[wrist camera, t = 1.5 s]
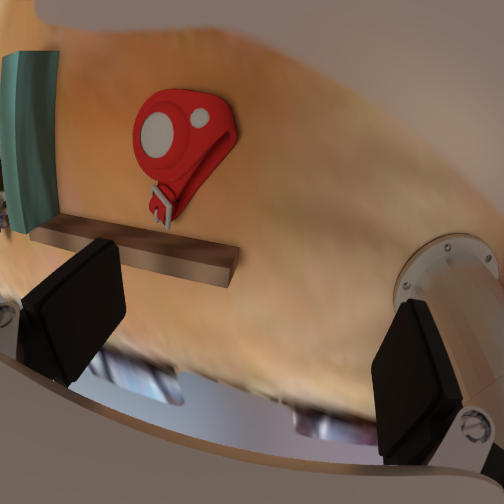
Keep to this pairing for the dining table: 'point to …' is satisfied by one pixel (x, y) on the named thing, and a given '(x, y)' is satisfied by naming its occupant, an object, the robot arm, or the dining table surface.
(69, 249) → the frame
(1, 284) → the dining table surface
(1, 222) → the passion flower
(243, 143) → the dining table surface
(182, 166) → the tracker holder
